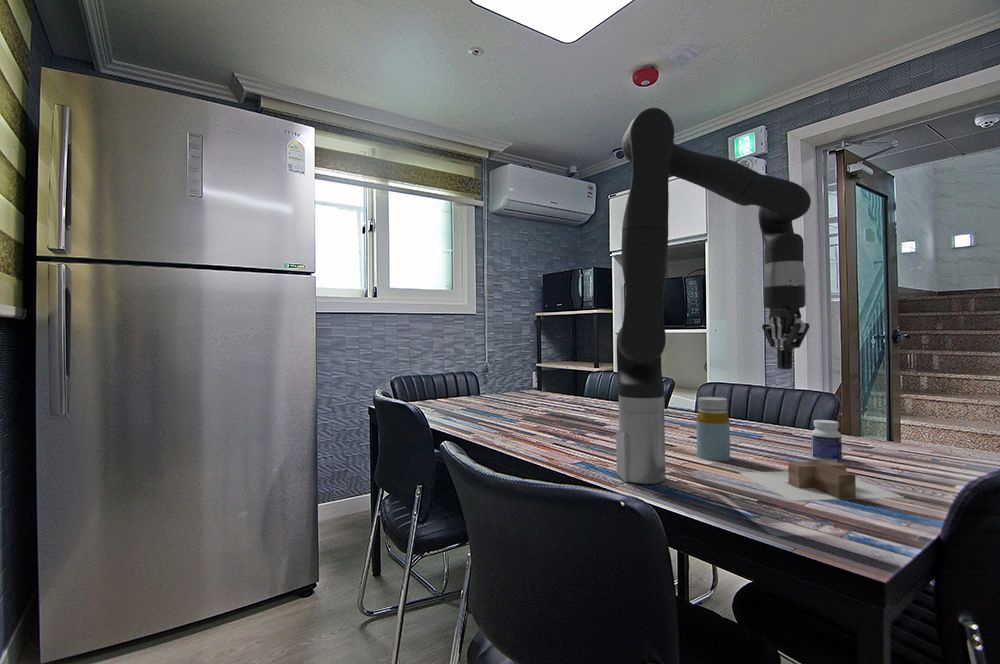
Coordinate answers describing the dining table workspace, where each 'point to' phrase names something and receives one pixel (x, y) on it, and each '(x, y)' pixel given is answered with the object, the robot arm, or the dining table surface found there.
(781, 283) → the robot arm
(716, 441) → the bottle
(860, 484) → the mat
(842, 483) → the tee block
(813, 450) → the pill bottle
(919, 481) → the dining table surface
